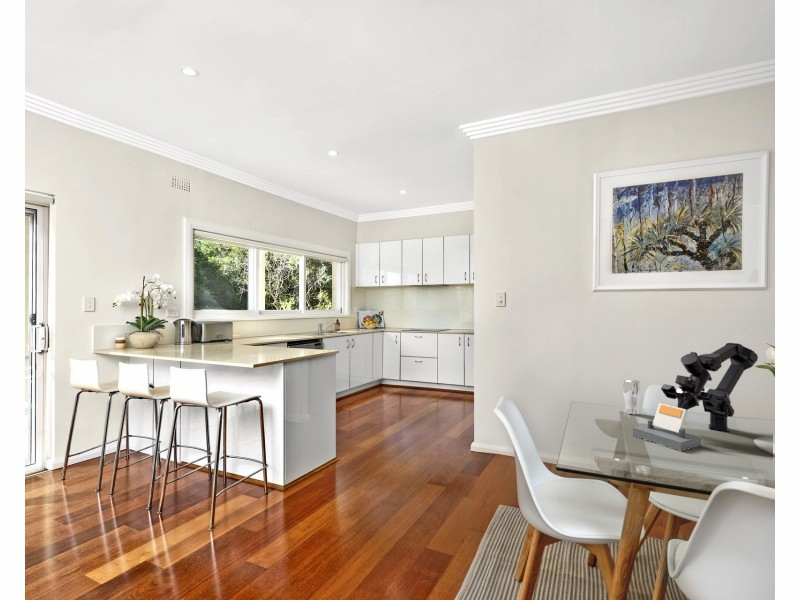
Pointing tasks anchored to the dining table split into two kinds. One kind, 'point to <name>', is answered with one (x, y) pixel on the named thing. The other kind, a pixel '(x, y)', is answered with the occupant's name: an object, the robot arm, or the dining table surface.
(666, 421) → the panel
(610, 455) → the dining table surface
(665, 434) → the base
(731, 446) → the dining table surface
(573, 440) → the dining table surface
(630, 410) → the beer glass
